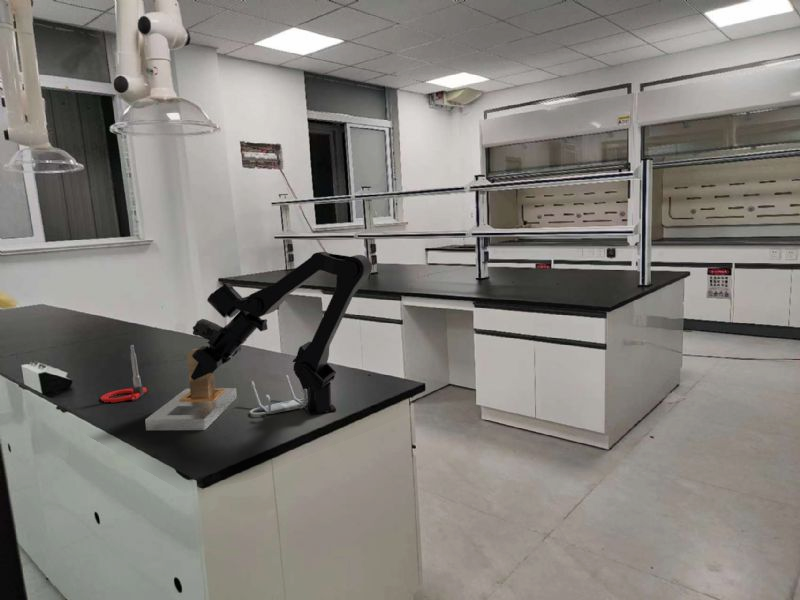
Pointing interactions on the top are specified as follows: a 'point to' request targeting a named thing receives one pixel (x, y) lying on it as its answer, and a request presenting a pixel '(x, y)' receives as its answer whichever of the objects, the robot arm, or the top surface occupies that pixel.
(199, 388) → the peg
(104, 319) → the top surface
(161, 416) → the grey peg hole board
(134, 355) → the tow hook
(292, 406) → the wall mount rack
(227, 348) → the robot arm
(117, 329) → the top surface
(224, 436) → the top surface
